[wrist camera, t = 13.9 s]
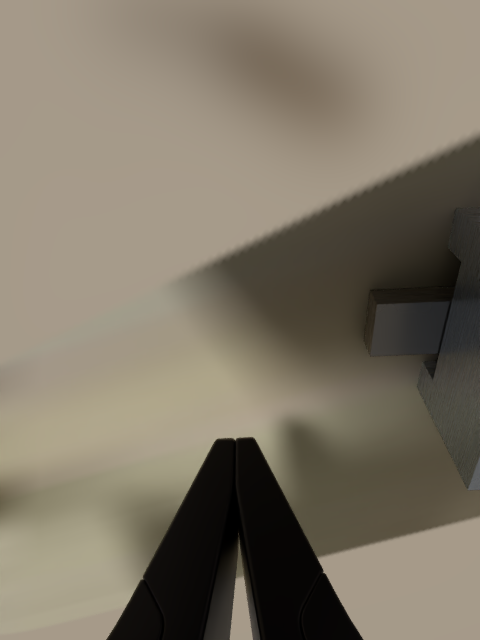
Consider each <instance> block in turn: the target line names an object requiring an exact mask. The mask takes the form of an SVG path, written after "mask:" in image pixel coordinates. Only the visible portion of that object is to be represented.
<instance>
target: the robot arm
mask: <svg viewBox="0 0 480 640" xmlns="http://www.w3.org/2000/svg"><path fill="white" fill-rule="evenodd" d="M239 540H240V549H241V557H242V564H243V571H244V579H245V586H246V593H247V600H248V607H249V614H250V621H251V628H252V635H253V640H363V639H362V637H361V635H360V634H359V632H358V631H357V629H356V627H355V626H354V624H353V623H352V621H351V619H350V618H349V616H348V614H347V612H346V611H345V609H344V607H343V605H342V603H341V602H340V600H339V598H338V597H337V595H336V593H335V591H334V589H333V587H332V585H331V583H330V581H329V579H328V578H327V576H326V574H325V573H323V569H322V566H321V565H320V563H319V561H318V559H317V557H316V555H315V553H314V551H313V549H312V547H311V545H310V543H309V541H308V540H307V538H306V536H305V534H304V532H303V530H302V528H301V526H300V524H299V522H298V520H297V518H296V517H295V515H294V513H293V511H292V509H291V507H290V505H289V503H288V501H287V499H286V497H285V495H284V493H283V492H282V490H281V488H280V486H279V484H278V482H277V480H276V478H275V476H274V474H273V472H272V470H271V469H270V467H269V465H268V463H267V461H266V459H265V457H264V455H263V453H262V451H261V449H260V447H259V445H258V444H257V442H256V440H255V439H254V438H253V437H245V438H237V439H236V441H235V440H234V439H233V438H221V439H217V440H216V441H215V442H214V444H213V446H212V447H211V449H210V451H209V453H208V455H207V457H206V459H205V461H204V462H203V464H202V466H201V468H200V470H199V472H198V474H197V476H196V477H195V479H194V481H193V483H192V485H191V487H190V489H189V491H188V492H187V494H186V496H185V498H184V500H183V502H182V504H181V506H180V507H179V509H178V511H177V513H176V515H175V517H174V519H173V521H172V522H171V524H170V526H169V528H168V530H167V532H166V534H165V536H164V537H163V539H162V541H161V543H160V545H159V547H158V549H157V551H156V552H155V554H154V556H153V558H152V560H151V562H150V564H149V566H148V567H147V569H146V571H145V573H144V575H143V579H144V580H140V582H139V584H138V586H137V588H136V590H135V592H134V593H133V595H132V597H131V599H130V601H129V603H128V604H127V606H126V608H125V610H124V611H123V613H122V615H121V617H120V618H119V620H118V622H117V624H116V625H115V627H114V629H113V630H112V632H111V633H110V635H109V636H108V638H107V639H106V640H230V629H231V620H232V609H233V599H234V588H235V578H236V568H237V557H238V544H239Z"/></svg>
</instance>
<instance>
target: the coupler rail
mask: <svg viewBox="0 0 480 640" xmlns="http://www.w3.org/2000/svg"><path fill="white" fill-rule="evenodd" d="M454 290H455V286H447V287H425V288H403V289H381V290H370V294H369V302H368V310H367V319H366V327H365V335H364V342H365V345H366V347H367V350H368V352H369V355H370V356H391V355H415V354H438V353H440V349H441V344H442V340H443V336H444V332H445V328H446V324H447V319H448V315H449V311H450V307H451V303H452V299H453V295H454Z"/></svg>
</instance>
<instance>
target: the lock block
mask: <svg viewBox="0 0 480 640" xmlns="http://www.w3.org/2000/svg"><path fill="white" fill-rule="evenodd" d="M448 248H449V249H450V250H451V251H452V252H453V253H454V254H455V256H456V257H457V258H458V259H459V260H460V261H461V266H460V270H459V274H458V278H457V282H456V286H455V290H454V295H453V299H452V303H451V307H450V311H449V315H448V319H447V324H446V328H445V332H444V336H443V340H442V344H441V349H440V353H439V357H438V361H424V362H422V367H421V372H420V376H419V381H418V385H417V388H418V390H419V392H420V394H421V396H422V398H423V400H424V402H425V404H426V406H427V409H428V411H429V413H430V415H431V417H432V419H433V421H434V423H435V425H436V427H437V429H438V431H439V433H440V435H441V437H442V439H443V441H444V443H445V445H446V447H447V449H448V451H449V453H450V455H451V457H452V459H453V461H454V463H455V465H456V467H457V469H458V471H459V473H460V476H461V478H462V480H463V482H464V484H465V486H466V488H467V490H480V207H472V208H456V211H455V216H454V221H453V225H452V230H451V234H450V239H449V243H448Z"/></svg>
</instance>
